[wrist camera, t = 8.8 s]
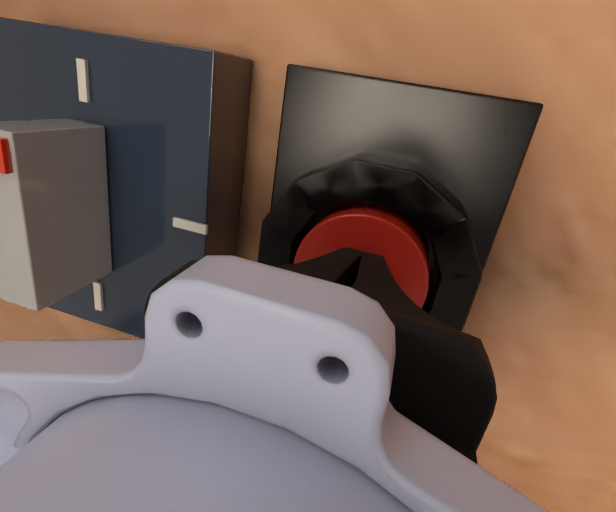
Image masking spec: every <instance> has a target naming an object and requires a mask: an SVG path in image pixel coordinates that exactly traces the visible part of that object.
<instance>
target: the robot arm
mask: <svg viewBox="0 0 616 512" xmlns="http://www.w3.org/2000/svg"><path fill="white" fill-rule="evenodd" d="M496 401H497V394H496V384H495V379H494V375H493V371H492V367H491V364H490V361H489V358H488V356H487V353H486V351H485V349H484V346H483V344H482V341H481V339H479V338H476V337H474V336H471V335H469V334H466V333H464V332H462V331H459V330H457V329H454V328H452V327H450V326H448V325H446V324H445V323H443V322H441V321H439V320H437V319H436V318H434V317H433V316H431V315H429V314H428V313H427V312H425V311H424V310H423V309H421V308H420V307H419V306H417V305H416V304H415V303H414V302H413V301H412V300H411V299H410V298H409V297H408V296H407V295H406V294H405V293H404V292H403V291H402V289H401V288H400V287H399V285H398V284H397V283H396V281H395V279H394V278H393V276H392V274H391V272H390V270H389V268H388V265H387V263H386V260H385V258H384V256H381V255H377V254H373V253H369V252H364V251H360V250H356V249H352V248H348V247H344V248H341V249H338V250H336V251H333V252H330V253H328V254H325V255H323V256H320V257H317V258H313V259H310V260H307V261H303V262H299V263H295V264H289V265H282V266H269V265H266V264H262V263H258V262H255V261H251V260H247V259H243V258H240V257H236V256H232V255H207V256H205V257H204V258H202V259H201V260H199V261H197V260H191V261H190V262H188V263H187V264H185V265H184V266H182V267H180V268H179V269H177V270H176V271H174V272H173V273H171V274H170V275H168V276H167V277H165V278H164V279H162V280H161V281H160V282H159V283H158V284H157V285H156V286H155V287H154V288H153V289H152V290H151V291H150V293H149V295H148V298H147V300H146V302H145V309H144V339H116V340H54V341H0V512H549V511H547V510H546V509H544V508H543V507H541V506H540V505H538V504H537V503H535V502H534V501H532V500H531V499H529V498H528V497H526V496H525V495H523V494H522V493H520V492H519V491H517V490H516V489H514V488H513V487H511V486H510V485H508V484H506V483H505V482H503V481H502V480H500V479H499V478H497V477H496V476H494V475H493V474H491V473H490V472H488V471H487V470H485V469H484V468H482V467H481V466H479V465H478V464H477V457H476V451H477V449H478V446H479V444H480V442H481V440H482V437H483V435H484V433H485V431H486V429H487V426H488V424H489V422H490V420H491V418H492V415H493V412H494V409H495V405H496Z"/></svg>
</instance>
